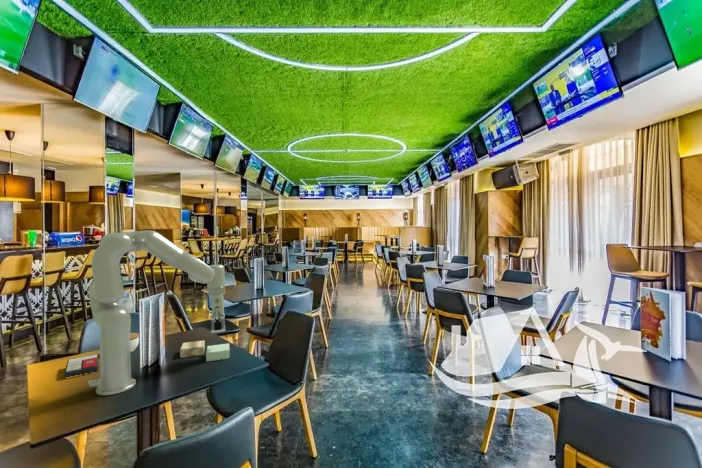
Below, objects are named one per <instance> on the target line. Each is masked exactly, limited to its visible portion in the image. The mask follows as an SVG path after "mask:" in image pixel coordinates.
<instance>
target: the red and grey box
mask: <svg viewBox="0 0 702 468" xmlns="http://www.w3.org/2000/svg"><path fill="white" fill-rule="evenodd" d="M97 371H98V372H99V354H93V355H87V356H82V357H78V358H72V359H68V360H67V362H66V366H65V369H64V378H65V377H70V376H75V375H80V374H85V373H91V372H97ZM98 372H97V373H98Z"/></svg>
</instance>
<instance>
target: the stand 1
mask: <svg viewBox="0 0 702 468" xmlns="http://www.w3.org/2000/svg"><path fill="white" fill-rule="evenodd" d="M205 344H206V341H205V339H204V340H197V341H187V342H183V343H182V345H181V347H180V349H179V353H180V355H179V356H180V358H181V359H182V358H183V359H184V358H189V357H197V356H203V355H204V353H205V348H206V345H205Z"/></svg>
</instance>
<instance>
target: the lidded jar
mask: <svg viewBox="0 0 702 468" xmlns="http://www.w3.org/2000/svg"><path fill="white" fill-rule="evenodd" d="M139 344H140V333H138V332H130V353H132V352H134V351H135V350H136V349H137V347H138V346H139Z"/></svg>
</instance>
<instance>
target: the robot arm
mask: <svg viewBox="0 0 702 468" xmlns="http://www.w3.org/2000/svg"><path fill="white" fill-rule="evenodd" d="M140 251H146V252H148V253H149V254H151V255H152V256H155V258H157V259H158V260H160V261H162V262H163V263H164V264H166V265H168V266H170V267H172V268H174V269H178V270H181V271H183V272H185V273H187V274H188V278H189V280H191V281H192V282H195V283H198V284H199V283H200V284H207V287H208V288H207V292H208V295H209V296H210V299H211V311H212V313H211V314H213V316H214V330H215V331H216V330H221V329H222V324H221V314H222V315H223V314H225V304H224V303H225V302H224V300H225V299H224V294H226V278H225V277H226V276H225V275H226V274H225V266H224V265H223V264H210V265H208V264H207V263H205V262H204V261H202V260H201V259H200V258H198V257H196V256H194V255H192V254H190V253H189V252H188V251H185V250H184V249H182V248H180V246H178V245H176V244H175V243H173V242H172V241H171V240H169V239H168V238H166V237H165V236H164V235H162V234H161V233H159V232H157V231H156V230H152V229H151V230H147V229H145V230H138V231H126V232H125V231H124V232H110V233H107V234H105V235H103V237H102V238H101V239H100V243H99V245H98V246H97V248H96V249H95V252H94V253H93V255H92V258H91V271H92V279H93V281H92V282H91V284H90V285H89V287H88V288H89V289H88V296H89V303H90V308H91V314H92V318H93V321H94V323H95V324H96V325H97V326H99V328H100V331H99V332H100V333H99V335H100V336H99V358H100V359H99V363H100V378H98V379H90V380H88V381H87V386H88V387H89V388H95V387H96V389H95V393H96V394H97V396H98V395H99V396H112V395H116V394H120V393H121V394H122V393H123V392H126V391H128V390H130V389H132V388H134V387H135V385H136V384H137V383H136V381H137V380H136V379H135V378H133V377H132V373H131V372H132V368H131V366H132V364H131V362H132V361H131V352H130V333H131V328H132V327H131V324H132V317H131V314H130V312H129V310H127V309H126V308H125V307H123V306H121V302H120V300H121V299H122V298H123V296H124V291H125V290H124V285H123V280H122V275H121V267H120V263H121V262H120V261H121V259H122V257H123V256H124V255H125V254H127V253H130V252H140ZM219 314H220V315H219Z"/></svg>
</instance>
